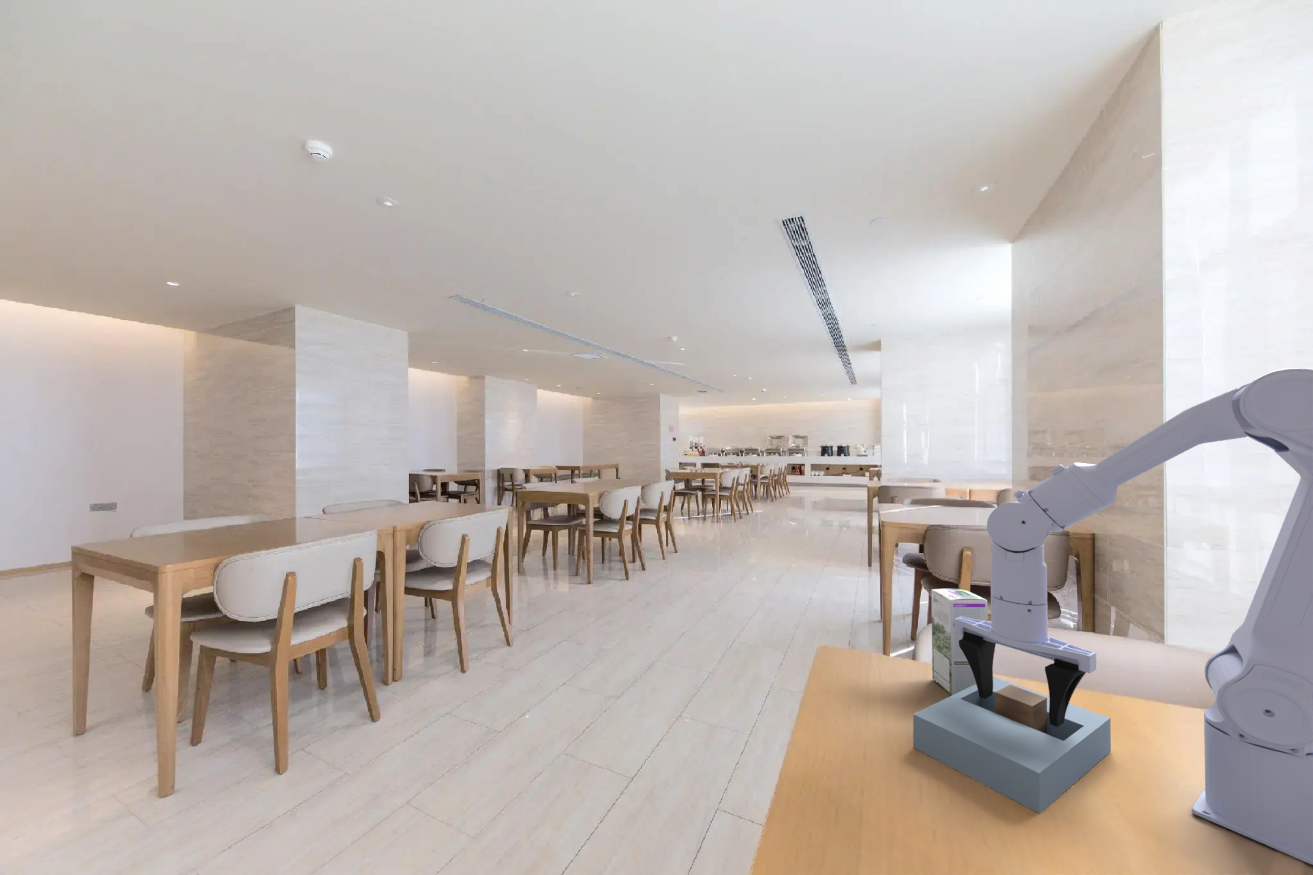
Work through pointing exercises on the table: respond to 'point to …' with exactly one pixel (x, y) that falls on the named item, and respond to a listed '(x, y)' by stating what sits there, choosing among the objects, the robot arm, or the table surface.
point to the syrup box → (953, 636)
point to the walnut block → (1022, 707)
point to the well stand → (1012, 745)
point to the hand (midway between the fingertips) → (1019, 708)
